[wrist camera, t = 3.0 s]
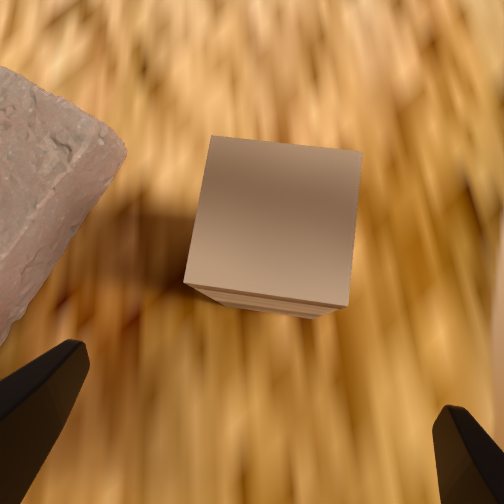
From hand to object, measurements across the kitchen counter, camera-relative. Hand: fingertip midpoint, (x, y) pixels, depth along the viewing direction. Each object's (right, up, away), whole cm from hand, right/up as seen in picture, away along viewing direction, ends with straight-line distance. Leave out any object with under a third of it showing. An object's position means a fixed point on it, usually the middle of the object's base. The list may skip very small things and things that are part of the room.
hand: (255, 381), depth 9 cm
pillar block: (+1, +2, +12) cm, 12 cm away
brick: (-15, +5, +14) cm, 21 cm away
